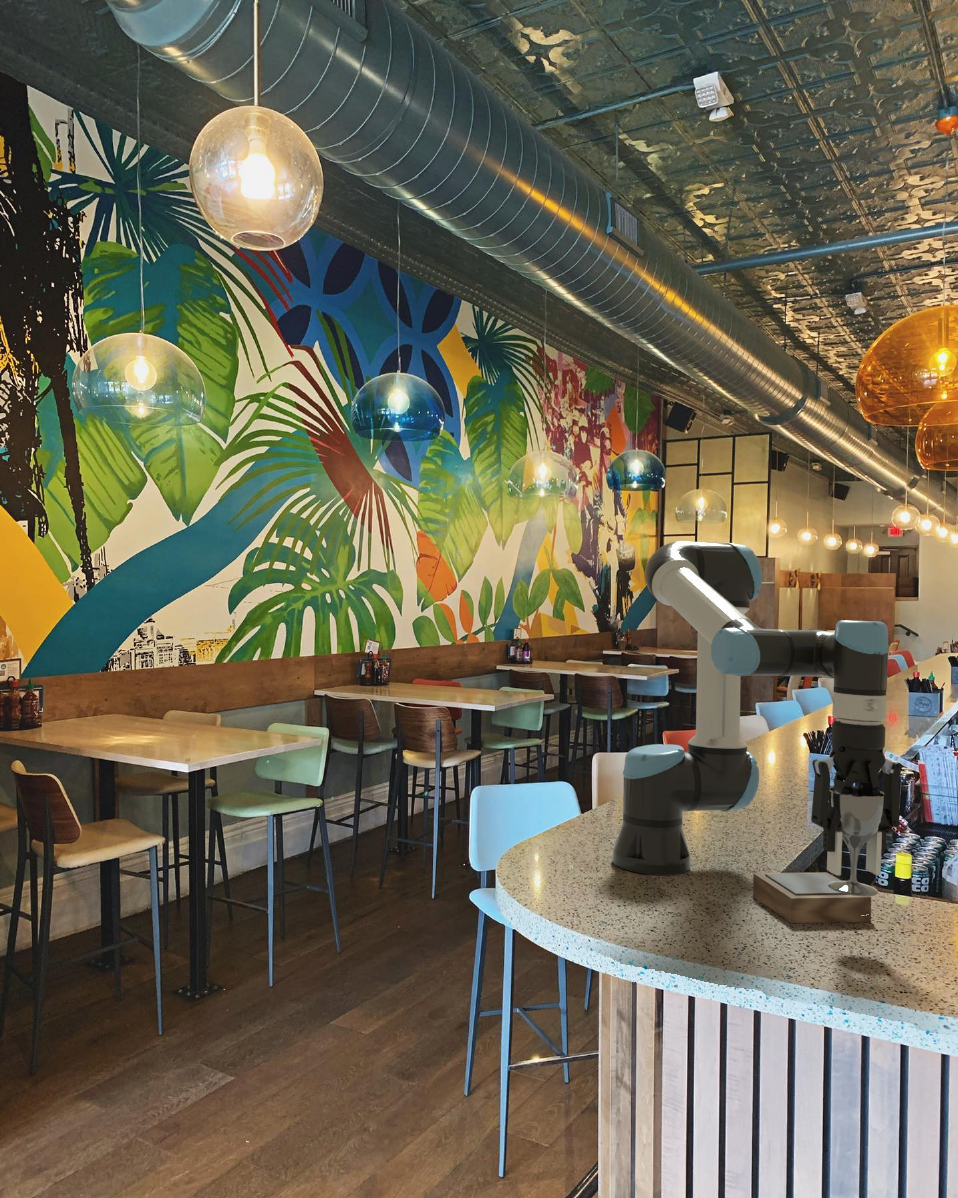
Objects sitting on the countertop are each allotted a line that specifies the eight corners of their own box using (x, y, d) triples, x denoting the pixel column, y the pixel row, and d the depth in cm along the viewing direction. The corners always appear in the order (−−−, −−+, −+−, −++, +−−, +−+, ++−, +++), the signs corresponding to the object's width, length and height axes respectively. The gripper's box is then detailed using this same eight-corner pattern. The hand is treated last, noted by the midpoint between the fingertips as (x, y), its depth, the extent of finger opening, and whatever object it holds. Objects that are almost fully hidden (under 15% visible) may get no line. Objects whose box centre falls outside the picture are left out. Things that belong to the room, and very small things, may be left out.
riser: (790, 923, 145) (791, 896, 145) (752, 895, 159) (753, 871, 159) (870, 921, 147) (871, 895, 147) (826, 894, 161) (826, 870, 161)
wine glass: (866, 881, 141) (869, 786, 140) (891, 898, 133) (894, 797, 133) (816, 879, 140) (819, 784, 140) (838, 896, 132) (842, 796, 132)
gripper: (813, 723, 131) (808, 880, 131) (930, 725, 134) (925, 879, 134) (789, 716, 139) (784, 865, 139) (900, 718, 141) (895, 864, 141)
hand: (853, 872), depth 136 cm, fingers closed on wine glass, 6 cm apart
